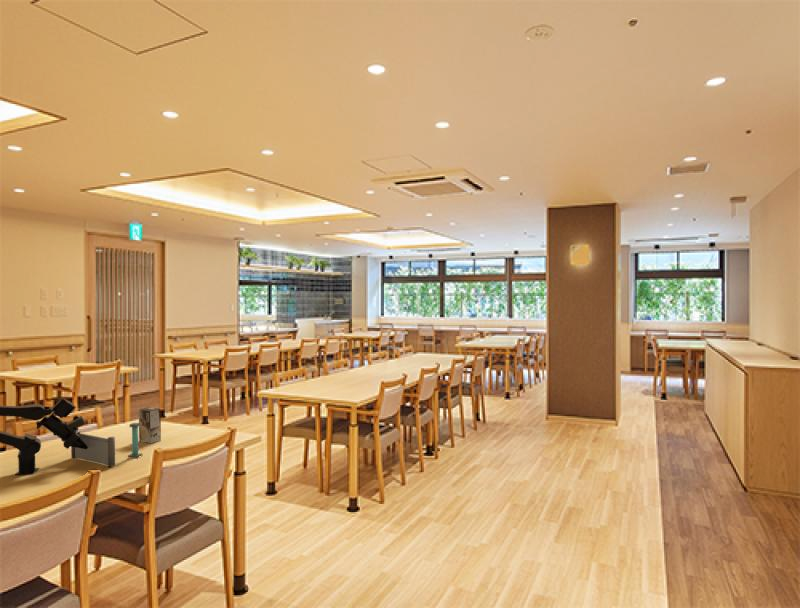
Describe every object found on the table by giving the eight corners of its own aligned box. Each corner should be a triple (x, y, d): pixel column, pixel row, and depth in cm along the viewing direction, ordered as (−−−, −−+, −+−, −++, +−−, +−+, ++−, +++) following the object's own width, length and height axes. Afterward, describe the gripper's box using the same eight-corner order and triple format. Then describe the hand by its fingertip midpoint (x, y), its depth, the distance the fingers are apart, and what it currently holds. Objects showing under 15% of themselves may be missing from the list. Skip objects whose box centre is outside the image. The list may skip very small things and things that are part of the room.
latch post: (127, 457, 239) (127, 424, 239) (131, 455, 242) (131, 422, 242) (138, 457, 239) (138, 424, 238) (142, 455, 242) (142, 422, 242)
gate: (70, 457, 238) (69, 428, 237) (75, 455, 240) (75, 427, 240) (110, 466, 224) (110, 436, 224) (116, 465, 227) (116, 434, 227)
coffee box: (161, 440, 267) (161, 408, 267) (150, 443, 261) (150, 411, 261) (149, 438, 271) (149, 406, 271) (138, 441, 266) (137, 409, 265)
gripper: (72, 415, 219) (103, 438, 225) (72, 407, 235) (101, 428, 241) (50, 437, 215) (82, 459, 221) (51, 427, 231) (80, 448, 237)
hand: (87, 448), depth 230 cm, fingers closed
